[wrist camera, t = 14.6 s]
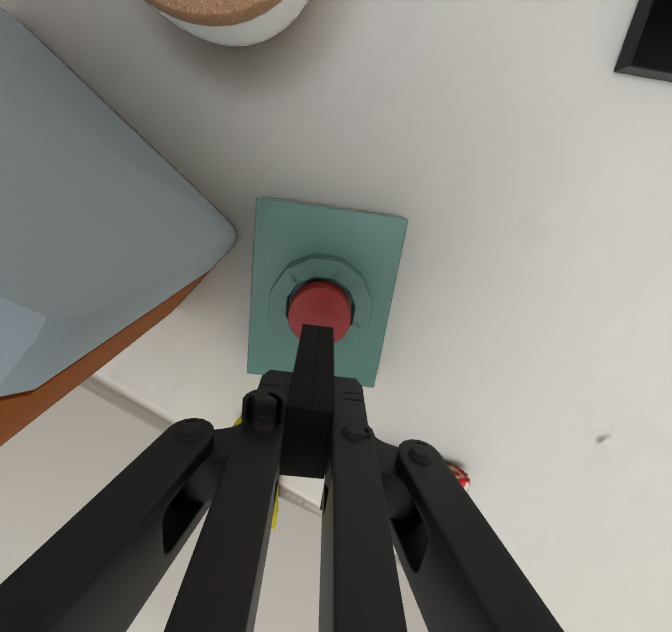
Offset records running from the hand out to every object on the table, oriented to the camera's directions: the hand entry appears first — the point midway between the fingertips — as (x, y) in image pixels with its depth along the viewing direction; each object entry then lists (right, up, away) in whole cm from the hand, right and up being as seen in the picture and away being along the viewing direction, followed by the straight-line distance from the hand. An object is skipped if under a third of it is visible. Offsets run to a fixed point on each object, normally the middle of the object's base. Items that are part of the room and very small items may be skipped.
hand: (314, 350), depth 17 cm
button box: (0, +3, +10) cm, 11 cm away
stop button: (0, +2, +7) cm, 7 cm away
